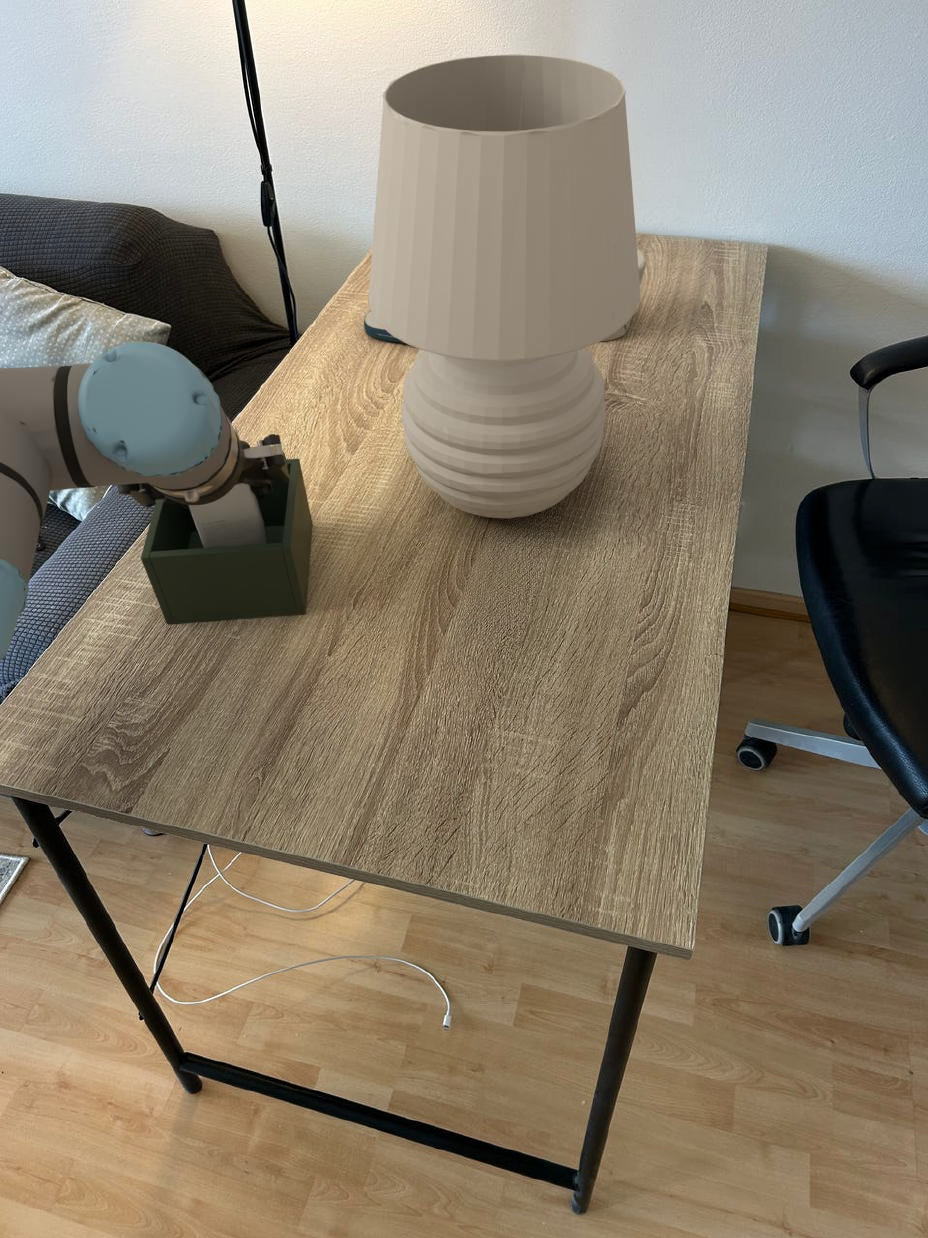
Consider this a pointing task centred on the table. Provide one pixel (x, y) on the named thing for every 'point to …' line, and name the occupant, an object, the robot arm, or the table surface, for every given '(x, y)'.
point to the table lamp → (504, 269)
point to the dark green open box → (233, 561)
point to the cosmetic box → (230, 519)
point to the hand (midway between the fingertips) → (224, 491)
